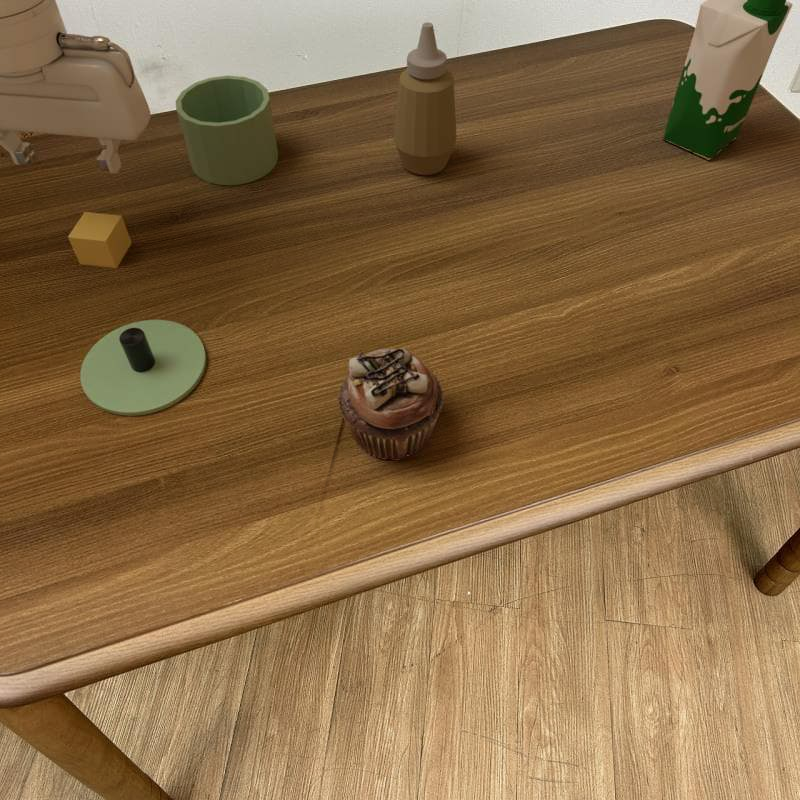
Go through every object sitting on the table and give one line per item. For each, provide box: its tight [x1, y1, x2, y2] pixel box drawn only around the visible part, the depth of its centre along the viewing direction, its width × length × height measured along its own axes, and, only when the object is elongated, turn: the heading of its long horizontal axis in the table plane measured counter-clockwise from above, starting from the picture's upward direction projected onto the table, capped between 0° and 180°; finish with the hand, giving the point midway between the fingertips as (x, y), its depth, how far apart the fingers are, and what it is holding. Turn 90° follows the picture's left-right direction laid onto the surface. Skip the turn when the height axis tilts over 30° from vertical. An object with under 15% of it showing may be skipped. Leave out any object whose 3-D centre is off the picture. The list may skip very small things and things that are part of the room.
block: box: [67, 211, 132, 269], centre depth 85 cm, size 4×4×4 cm
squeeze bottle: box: [393, 21, 457, 176], centre depth 91 cm, size 8×8×18 cm
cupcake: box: [337, 348, 445, 461], centre depth 68 cm, size 10×10×10 cm
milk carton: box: [662, 0, 793, 158], centre depth 93 cm, size 9×9×20 cm
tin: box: [175, 75, 279, 186], centre depth 95 cm, size 11×11×8 cm
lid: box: [79, 319, 207, 417], centre depth 74 cm, size 12×12×5 cm
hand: (69, 166), depth 77 cm, fingers open, 8 cm apart
